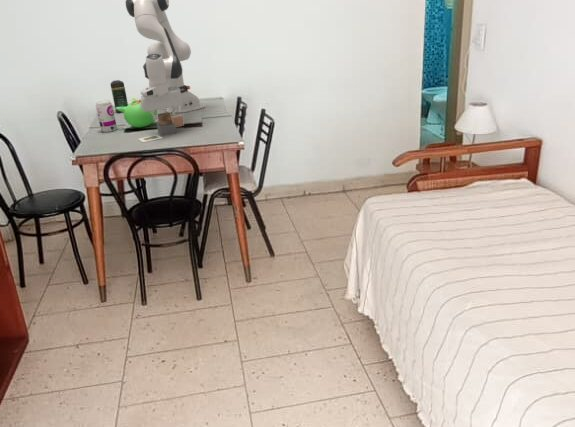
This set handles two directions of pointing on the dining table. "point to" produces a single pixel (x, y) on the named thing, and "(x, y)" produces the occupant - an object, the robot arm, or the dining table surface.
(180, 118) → the terracotta cube
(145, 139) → the card
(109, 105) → the supplement can
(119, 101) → the coffee jar
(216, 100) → the dining table surface
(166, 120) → the walnut cube
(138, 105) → the toy bird
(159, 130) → the charcoal base block
